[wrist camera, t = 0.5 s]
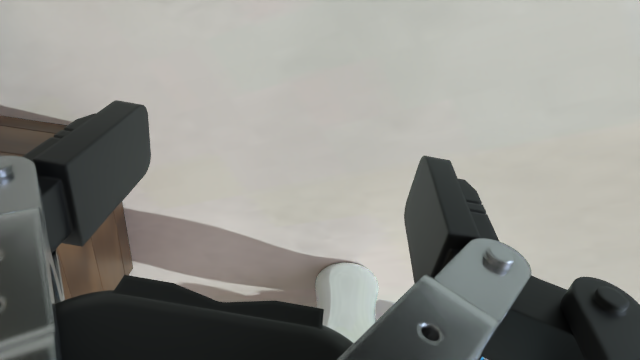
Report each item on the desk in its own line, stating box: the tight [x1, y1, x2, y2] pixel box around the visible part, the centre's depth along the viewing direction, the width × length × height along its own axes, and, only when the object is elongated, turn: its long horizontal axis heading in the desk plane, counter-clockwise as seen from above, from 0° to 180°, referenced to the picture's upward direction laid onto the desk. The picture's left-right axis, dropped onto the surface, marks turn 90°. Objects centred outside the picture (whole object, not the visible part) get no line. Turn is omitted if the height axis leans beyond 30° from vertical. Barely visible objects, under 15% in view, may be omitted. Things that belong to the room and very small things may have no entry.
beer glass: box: [315, 262, 379, 343], centre depth 33 cm, size 7×7×15 cm
